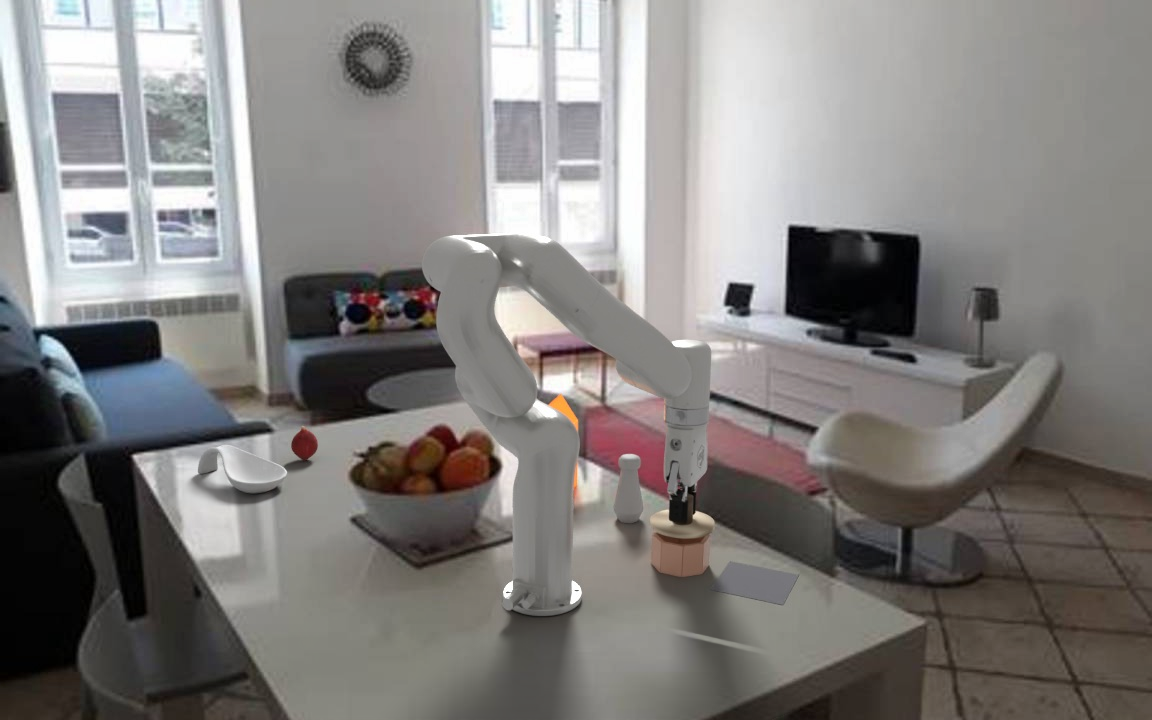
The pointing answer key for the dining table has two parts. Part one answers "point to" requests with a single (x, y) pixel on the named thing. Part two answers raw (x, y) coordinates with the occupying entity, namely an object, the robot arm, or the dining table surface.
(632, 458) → the salt shaker
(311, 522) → the dining table surface
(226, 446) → the spoon rest
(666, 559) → the bowl
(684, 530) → the lid
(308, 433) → the onion
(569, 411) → the orange juice
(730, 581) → the mat
